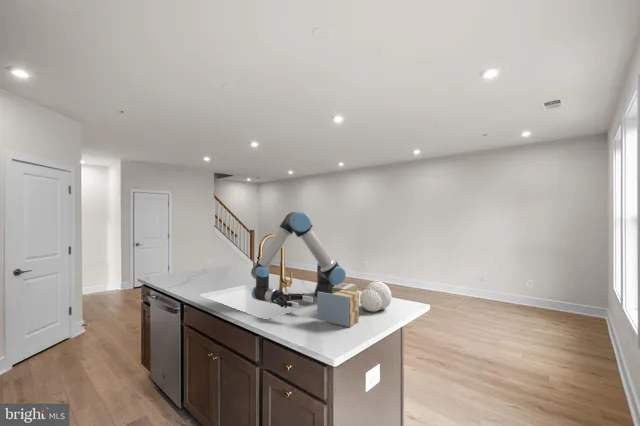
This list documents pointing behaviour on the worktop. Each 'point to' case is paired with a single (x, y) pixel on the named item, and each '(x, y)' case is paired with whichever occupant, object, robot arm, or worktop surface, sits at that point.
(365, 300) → the cauliflower
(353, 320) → the carton
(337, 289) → the tea box
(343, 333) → the worktop surface
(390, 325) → the worktop surface
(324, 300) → the flap
